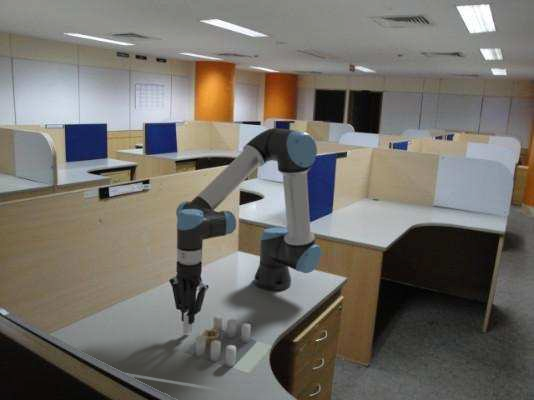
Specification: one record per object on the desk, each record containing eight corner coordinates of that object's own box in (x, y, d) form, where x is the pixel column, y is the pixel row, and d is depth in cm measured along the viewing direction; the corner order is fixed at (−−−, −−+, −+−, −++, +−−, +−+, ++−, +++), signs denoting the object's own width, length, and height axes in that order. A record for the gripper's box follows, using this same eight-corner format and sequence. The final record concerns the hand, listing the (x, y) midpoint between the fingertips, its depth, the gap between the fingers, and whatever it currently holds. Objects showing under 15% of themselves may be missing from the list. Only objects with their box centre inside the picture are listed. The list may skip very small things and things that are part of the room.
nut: (205, 336, 139) (206, 327, 138) (220, 339, 138) (221, 330, 138) (200, 346, 134) (200, 337, 133) (215, 348, 133) (216, 339, 132)
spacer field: (213, 329, 145) (213, 313, 144) (272, 347, 137) (273, 330, 135) (184, 353, 131) (184, 336, 129) (248, 375, 122) (249, 357, 121)
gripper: (163, 260, 133) (163, 331, 138) (200, 269, 128) (198, 343, 133) (178, 252, 140) (177, 321, 145) (214, 261, 134) (212, 331, 140)
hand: (187, 331), depth 139 cm, fingers closed
